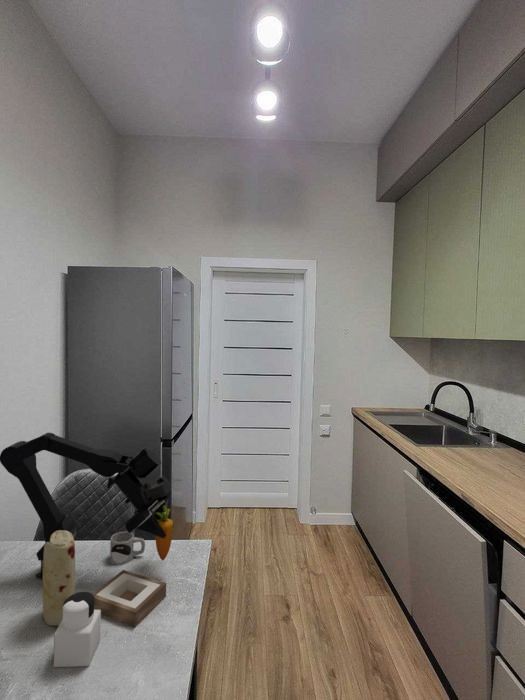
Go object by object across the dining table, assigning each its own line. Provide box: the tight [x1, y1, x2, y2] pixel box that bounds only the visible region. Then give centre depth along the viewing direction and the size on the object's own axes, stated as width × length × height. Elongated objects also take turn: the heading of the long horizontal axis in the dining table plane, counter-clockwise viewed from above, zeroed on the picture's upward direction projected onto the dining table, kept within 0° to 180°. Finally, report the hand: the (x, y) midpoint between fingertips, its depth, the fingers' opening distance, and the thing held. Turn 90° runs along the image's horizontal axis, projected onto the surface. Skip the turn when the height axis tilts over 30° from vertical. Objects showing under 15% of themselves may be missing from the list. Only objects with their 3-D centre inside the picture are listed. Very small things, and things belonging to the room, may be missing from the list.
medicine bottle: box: [53, 591, 102, 668], centre depth 83 cm, size 7×7×12 cm
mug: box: [109, 531, 146, 566], centre depth 119 cm, size 10×7×7 cm
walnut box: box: [91, 569, 167, 628], centre depth 99 cm, size 14×12×4 cm
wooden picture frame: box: [96, 573, 160, 608], centre depth 99 cm, size 12×10×3 cm
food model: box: [42, 530, 76, 627], centre depth 93 cm, size 10×7×20 cm
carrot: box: [155, 505, 174, 561], centre depth 110 cm, size 5×5×15 cm
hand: (168, 532), depth 110 cm, fingers closed on carrot, 5 cm apart
